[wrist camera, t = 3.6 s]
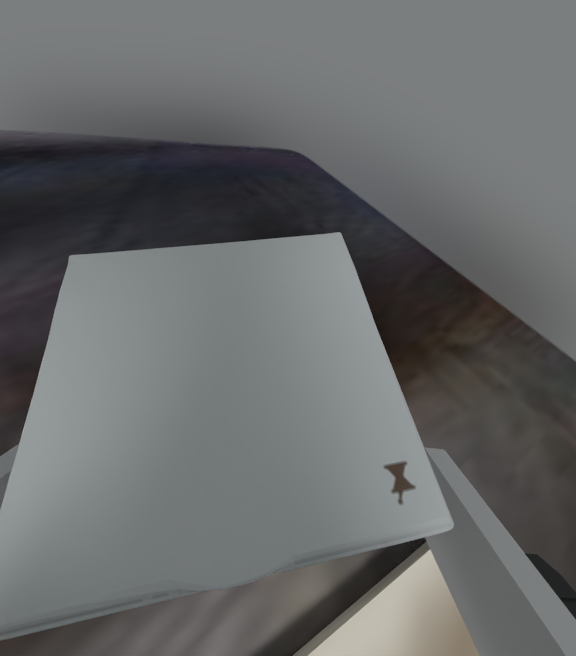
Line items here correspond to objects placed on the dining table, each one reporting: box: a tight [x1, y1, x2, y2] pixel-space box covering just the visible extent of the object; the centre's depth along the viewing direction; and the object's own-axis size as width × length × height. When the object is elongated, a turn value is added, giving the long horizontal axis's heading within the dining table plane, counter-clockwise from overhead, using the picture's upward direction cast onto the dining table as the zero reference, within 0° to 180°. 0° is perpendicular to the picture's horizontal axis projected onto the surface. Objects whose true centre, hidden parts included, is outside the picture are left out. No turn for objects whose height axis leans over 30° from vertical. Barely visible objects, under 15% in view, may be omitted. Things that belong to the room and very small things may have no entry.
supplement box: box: [0, 232, 454, 641], centre depth 14 cm, size 9×9×15 cm
